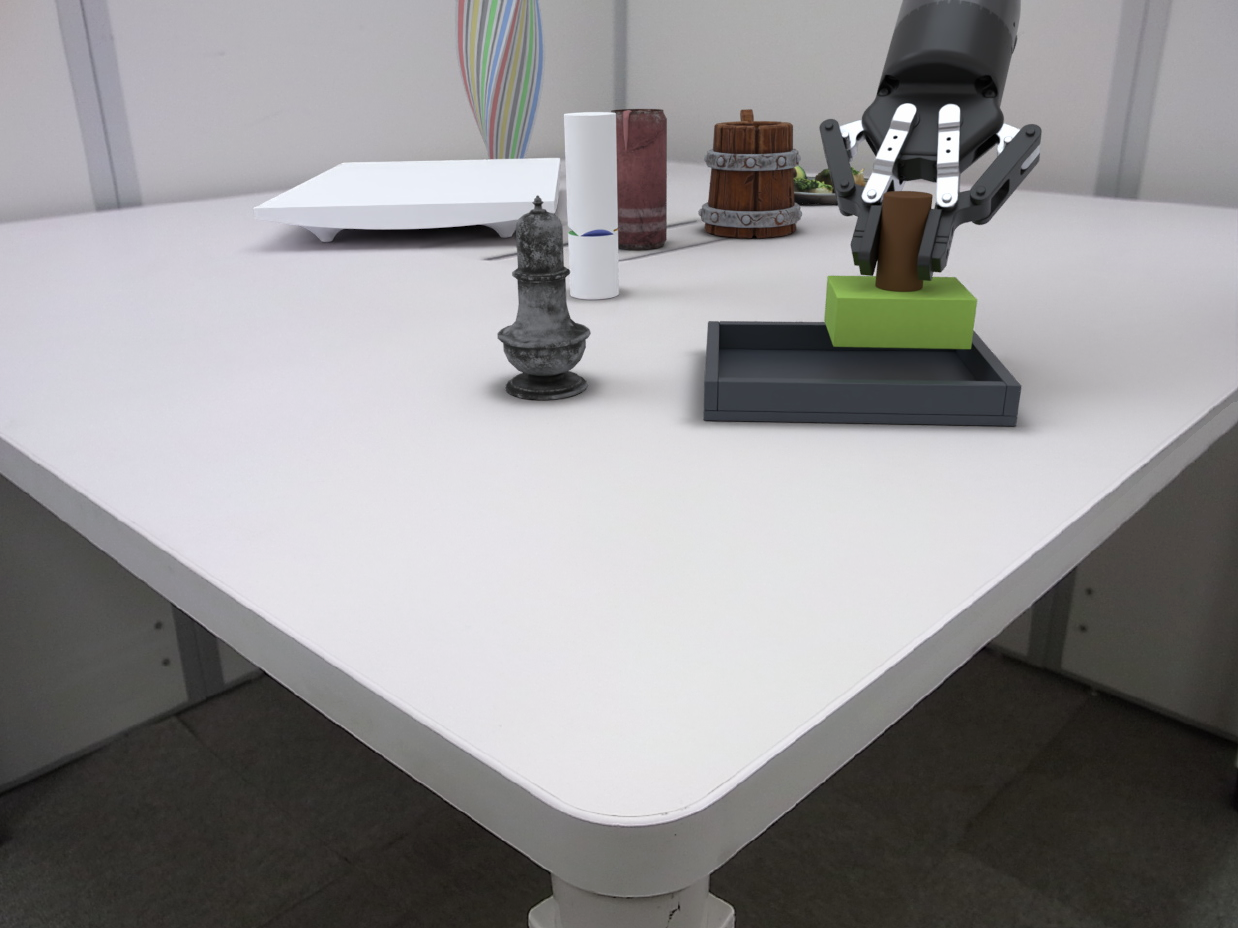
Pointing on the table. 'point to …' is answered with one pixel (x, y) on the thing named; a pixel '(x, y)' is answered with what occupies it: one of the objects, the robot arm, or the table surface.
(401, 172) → the board
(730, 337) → the tray
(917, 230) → the green block brown handle
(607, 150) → the tube
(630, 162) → the can
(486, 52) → the vase
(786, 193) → the mug
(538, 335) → the salt shaker
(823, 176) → the salad plate
